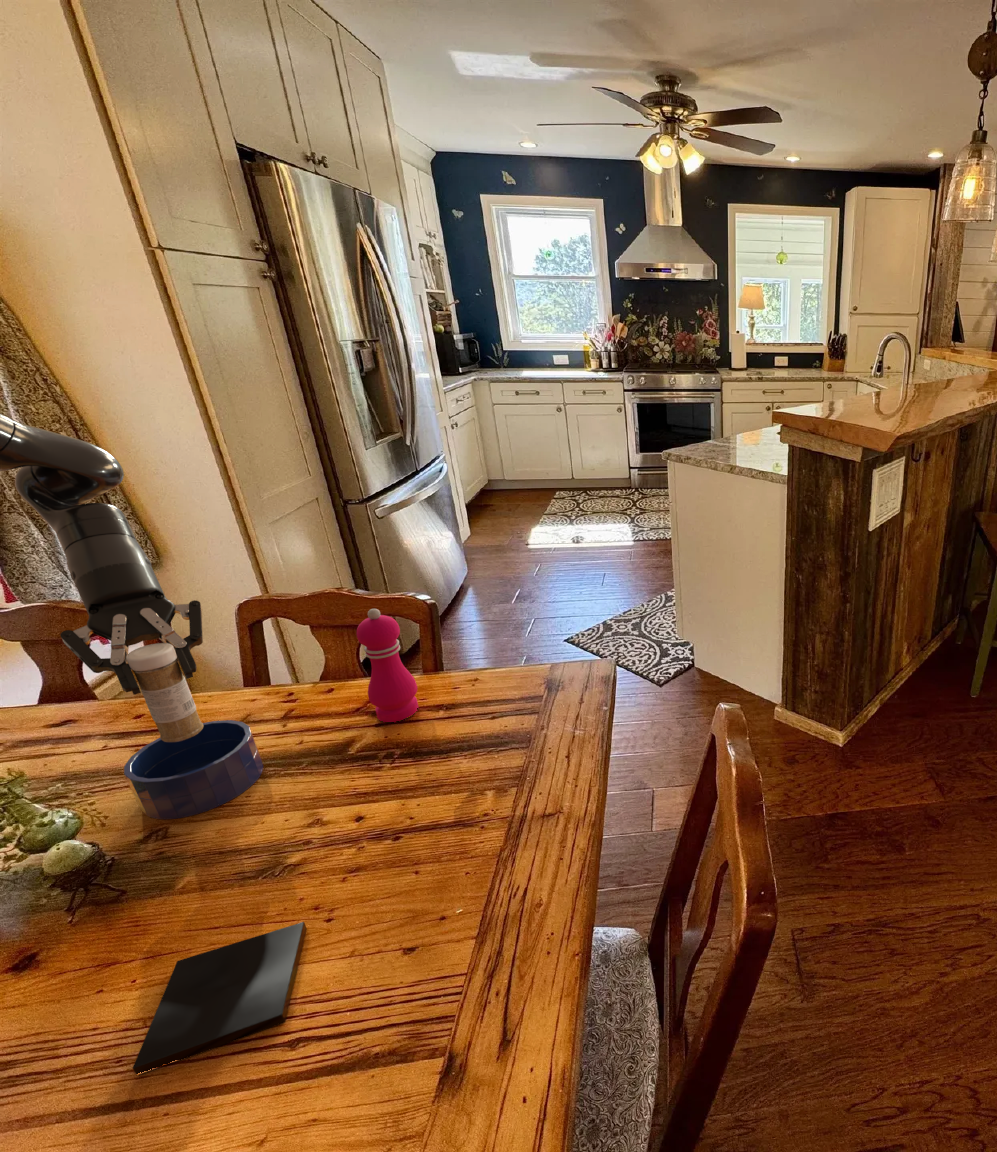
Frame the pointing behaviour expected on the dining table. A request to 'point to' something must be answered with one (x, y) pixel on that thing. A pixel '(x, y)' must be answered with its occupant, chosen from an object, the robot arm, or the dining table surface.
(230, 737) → the bowl
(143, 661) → the sprinkles bottle
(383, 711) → the pepper mill
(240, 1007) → the plate
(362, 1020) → the dining table surface
